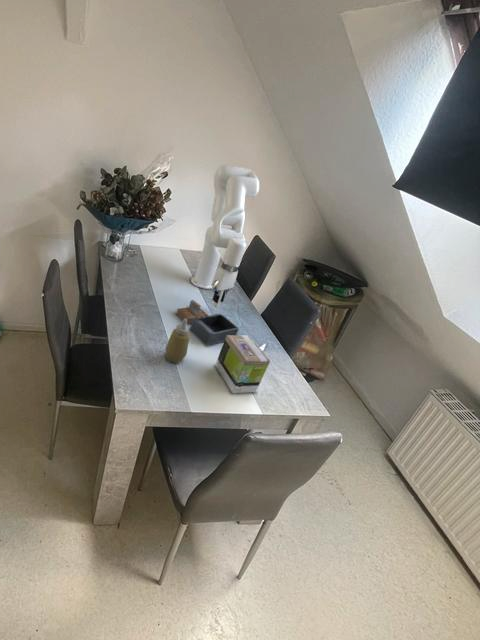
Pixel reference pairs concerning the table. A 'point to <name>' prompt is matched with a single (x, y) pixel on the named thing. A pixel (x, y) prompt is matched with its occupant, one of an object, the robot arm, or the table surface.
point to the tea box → (241, 363)
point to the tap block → (189, 314)
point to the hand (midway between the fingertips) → (217, 300)
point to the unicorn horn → (262, 347)
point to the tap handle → (194, 307)
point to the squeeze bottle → (178, 343)
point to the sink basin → (213, 328)
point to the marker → (219, 299)
